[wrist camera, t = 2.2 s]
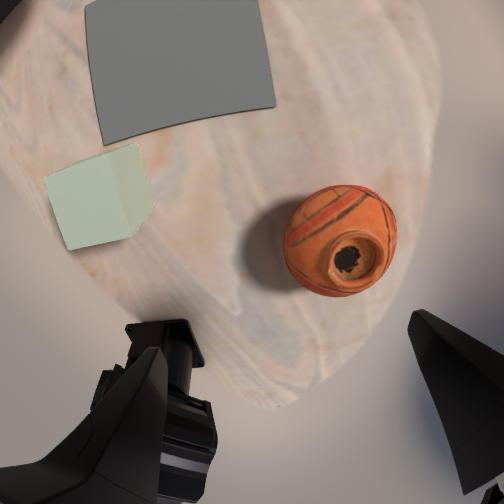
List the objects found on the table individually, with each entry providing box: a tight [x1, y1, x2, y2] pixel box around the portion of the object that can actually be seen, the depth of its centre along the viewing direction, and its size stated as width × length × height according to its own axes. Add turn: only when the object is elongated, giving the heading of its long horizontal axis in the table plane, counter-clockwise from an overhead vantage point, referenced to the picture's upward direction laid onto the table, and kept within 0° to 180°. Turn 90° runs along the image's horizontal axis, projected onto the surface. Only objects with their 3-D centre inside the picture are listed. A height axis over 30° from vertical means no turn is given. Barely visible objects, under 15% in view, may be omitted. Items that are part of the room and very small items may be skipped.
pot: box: [283, 185, 397, 297], centre depth 18 cm, size 8×8×7 cm
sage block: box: [43, 142, 155, 251], centre depth 16 cm, size 5×5×5 cm
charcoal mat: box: [85, 0, 276, 145], centre depth 14 cm, size 12×12×1 cm
